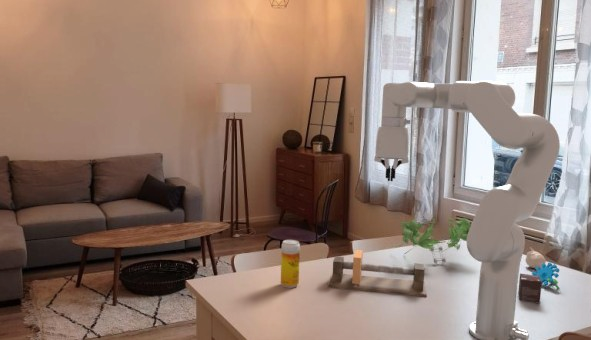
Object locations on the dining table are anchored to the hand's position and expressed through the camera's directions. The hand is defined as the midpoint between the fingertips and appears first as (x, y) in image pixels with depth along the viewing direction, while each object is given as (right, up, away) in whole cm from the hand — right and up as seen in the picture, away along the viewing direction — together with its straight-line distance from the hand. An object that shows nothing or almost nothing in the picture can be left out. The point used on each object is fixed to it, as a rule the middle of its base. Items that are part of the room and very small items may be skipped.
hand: (390, 180), depth 160 cm
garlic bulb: (+62, -35, +34) cm, 79 cm away
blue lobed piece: (+57, -37, +16) cm, 70 cm away
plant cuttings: (+25, -33, +40) cm, 57 cm away
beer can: (-32, -36, +8) cm, 49 cm away
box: (+45, -39, +3) cm, 60 cm away
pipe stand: (-2, -36, +11) cm, 38 cm away
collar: (-9, -34, +12) cm, 37 cm away
